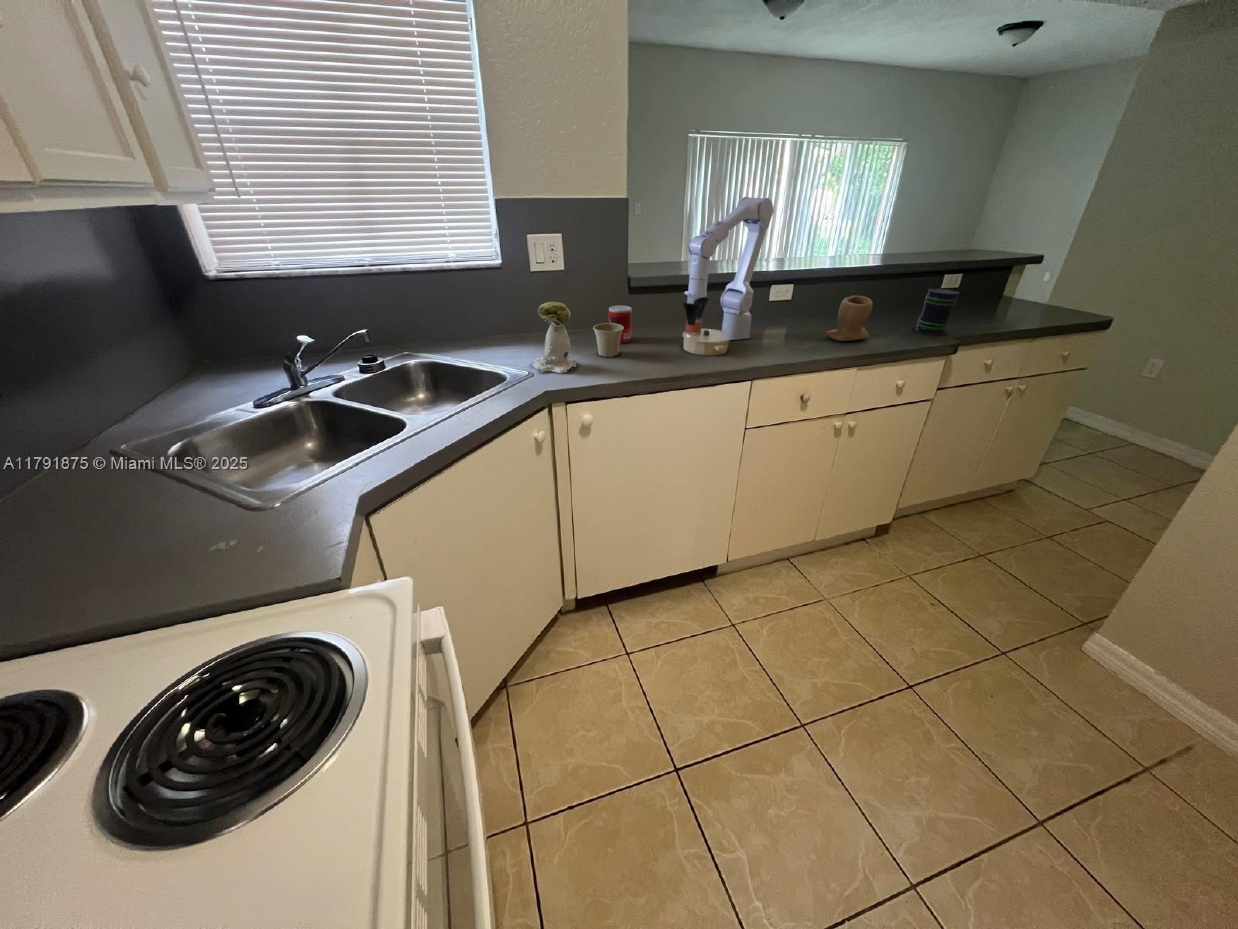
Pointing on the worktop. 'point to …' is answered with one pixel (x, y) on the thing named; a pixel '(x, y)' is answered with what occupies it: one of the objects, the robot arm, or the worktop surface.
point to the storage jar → (936, 311)
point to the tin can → (694, 327)
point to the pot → (705, 347)
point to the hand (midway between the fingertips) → (694, 321)
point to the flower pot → (608, 338)
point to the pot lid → (708, 336)
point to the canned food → (621, 320)
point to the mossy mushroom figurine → (555, 339)
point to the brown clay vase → (852, 319)
